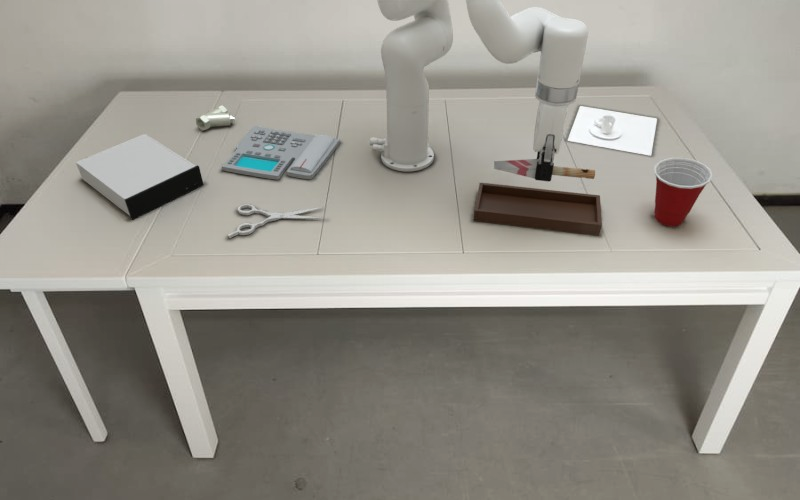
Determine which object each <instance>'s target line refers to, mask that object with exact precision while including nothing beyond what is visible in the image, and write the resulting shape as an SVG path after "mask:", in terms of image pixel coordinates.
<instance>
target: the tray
mask: <svg viewBox="0 0 800 500" xmlns="http://www.w3.org/2000/svg"><path fill="white" fill-rule="evenodd" d="M475 199H476V200H475V204H474V209H473V222H479V223H488V224H495V225H502V226H503V225H504V226H513V227H521V228H530V229H539V230H545V231H554V232H555V231H556V232H564V233H572V234H580V235H581V234H582V235H589V236H597V237H599V236H600V234H601V230H602V227H603V218H602V205H601V204H602V203H601V195H600V194H590V193H582V192H571V191H564V190H563V191H561V190H554V189H543V188H535V187H528V186H527V187H525V186H516V185H507V184H498V183H489V182H479V183H478V189H477V194H476V198H475Z"/></svg>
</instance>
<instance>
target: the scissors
mask: <svg viewBox="0 0 800 500" xmlns="http://www.w3.org/2000/svg"><path fill="white" fill-rule="evenodd" d="M245 208H246V209H247V208H250V209H249V210H242V209H245ZM322 208H323V206H321V207H314V208H306V209H299V210H294V211H288V212H272V211H265V210H264V209H257V208H256V206H254V205H253V204H249V203H244V204H241V205H239V206H238V207H237V212H238V214H239V215H243V216H250V215H252V214H261V215H263V216H265V217H266V218H265V219H264V220H262V221H259V222H254V223H250V222H244V223H241V224H240V225H238V226H237V228H236V230H234V231H233V232H230V233H228V234H227V237H228V239H232V238H233V237H235V236H238V235H240V236H247V235H250V234H252V233H254V232H255V230H256V229H258V228H259V227H263V226H264V225H266V224H267V223H269V222H274V221H278V220H280V219H297V220H298V219H300V220H301V219H303V220H304V219H317V220H321V217H320V216H308V215H299V214H304V213H306V212H307V213H308V212H310V211H314V210H318V209H322ZM245 228H249V229H248V230H242V229H245Z"/></svg>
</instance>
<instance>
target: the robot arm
mask: <svg viewBox="0 0 800 500" xmlns="http://www.w3.org/2000/svg"><path fill="white" fill-rule="evenodd" d="M449 3H450V2H449V0H377V5H378V8H379V10H380V11H379V12H380V13H381V14H382V16H383V17H384V18H385V19H387V20H389V21H393V22H396V21H402V20H405V19H408V18H410V17H414V20H412V21H409V22H407V23H405V24H402V25H401V26H398V27H396V28H394V29H392V30H391V31H390V32H389V33H388V34H387V35H386V36H385V38H383V40H382V43H381V47H380V56H381V60H382V66H383V70H384V76H385V93H386V95H385V96H386V136H387V137H383V138H379V137H373V136H371V137H370V139H369V145H370V146H372V151H381V153H380V159H381V162H382V163H383V165H385V166H386V167H387V168H389V169H391V170H394V171H397V172H405V173H410V172H417V171H422V170H424V169H426V168H428V167H430V166H431V165H432V164H433V162H434V160H435V153H434V150H433V148H431V147H430V146H429V116H430V115H429V114H430V86H429V82H428V79H427V78H426V75H425V72H424V69H425V68H426V67H427V66H430V64H432V63H434V62H435V61H438V60H439V59H441V58H443V57H445V56H446V55H447V54H448V53H449V52H450V51H451V48H452V47H453V43H454V29H453V22H452V16H451V10H450V9H451V8H450V4H449ZM465 3H466V9H467V13H468V14H467V15H468V17H469V21H470V23H471V26H472V27H473V30H474V31H475V33H476V34H477V36H478V37H479V39H480V41H481V43H482V44H483V45H484V48H486V50H487V51H488V53H489V54H490V55H491V56H492V57H493V58H494V59H495V60H496V61H498V62H500V63H502V64H506V65H511V64H516V63H518V62H520V61H522V60H524V59H526V58H528V57H529V56H530V55H532V54H534V53H538V52H540V55H539V56H540V57H539V64H538V71H537V79H536V84H535V85H536V86H535V91H534V96H535V99H536V100H537V101H538V105H537V106H538V107H537V113H536V119H535V125H534V126H535V128H534V133H533V145H532V149H533V152H535V153H537V155H536V159H539V162H537V167H536V173H535V179H534V180H535V181H539V182H540V181H541V182H551V181H552V177H553V175H552V172H553V166H555V163H554V160H555V155H557V154H558V153H559V152H560V149H561V145H562V140H563V136H564V131H565V127H566V122H567V115H568V112H569V111H568V110H569V105H572V104H574V103H575V102H576V100H577V97H578V92H579V86H580V80H581V77H582V76H581V75H582V70H583V64H584V59H585V54H586V47H587V44H588V43H587V42H588V37H589V29H588V26H587V24H586V23H584V22H583V21H581V20H579V19H575V18H572V17H571V18H570V17H562V16H560V15H559V14H556V13H554V12H552V11H550V10H548V9H546V8H544V7H540V6H529V7H527V8H525V9H523V10H520V11H518V12H516V13H514V14H513V15H510V13H509V12H508V10H507V9H506V7H505V6H504V3H503V1H502V0H465Z"/></svg>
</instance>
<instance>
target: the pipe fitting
mask: <svg viewBox="0 0 800 500" xmlns="http://www.w3.org/2000/svg"><path fill="white" fill-rule="evenodd" d="M235 118H236V117H235V116H233V115H230V112H228V110H227V108H226V107H225V106H224V105H218V106H216V107H214V108H213V109H212V110H210V111H208V112H206V113H204V114H203V115H200V116H197V117H196V118H195V124H196V126H197V128H198V129H200V131H202V132H203V131H206V130H208V129H210V128H214V127H228V126H231V124H232V123H234V121H236V119H235Z"/></svg>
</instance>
